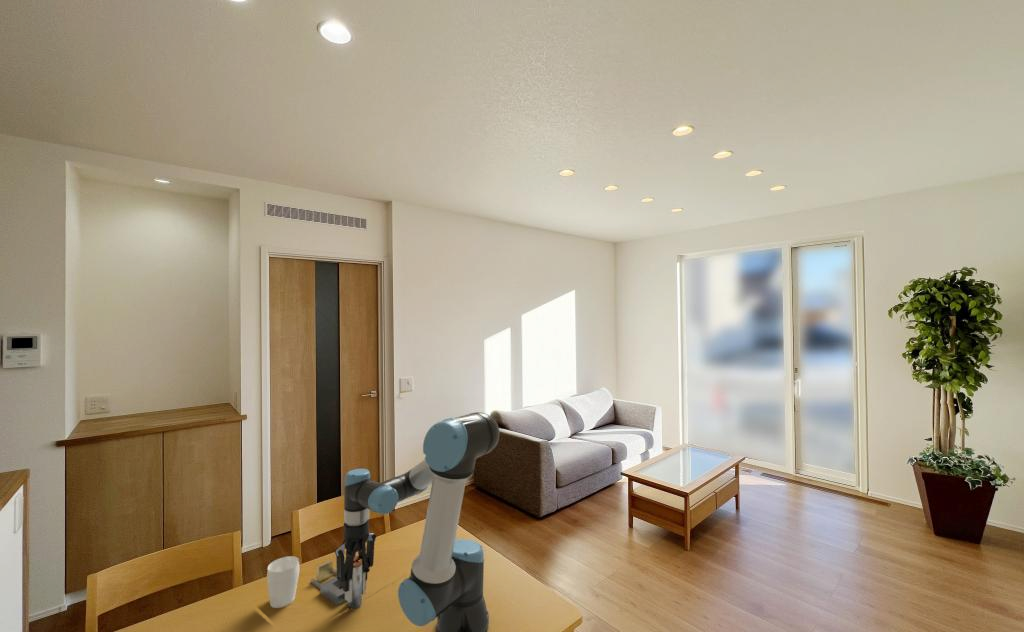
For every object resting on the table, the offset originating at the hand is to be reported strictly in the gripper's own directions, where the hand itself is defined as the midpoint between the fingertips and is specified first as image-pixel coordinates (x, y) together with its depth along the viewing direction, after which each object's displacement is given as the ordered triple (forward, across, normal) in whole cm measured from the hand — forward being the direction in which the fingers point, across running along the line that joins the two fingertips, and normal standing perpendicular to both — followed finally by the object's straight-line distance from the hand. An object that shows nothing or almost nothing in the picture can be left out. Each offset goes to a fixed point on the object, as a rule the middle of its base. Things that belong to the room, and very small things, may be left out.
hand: (355, 596), depth 127 cm
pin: (+3, 0, 0) cm, 3 cm away
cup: (+3, +13, -19) cm, 23 cm away
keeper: (+2, -1, -20) cm, 20 cm away
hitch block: (+3, -2, -12) cm, 12 cm away
